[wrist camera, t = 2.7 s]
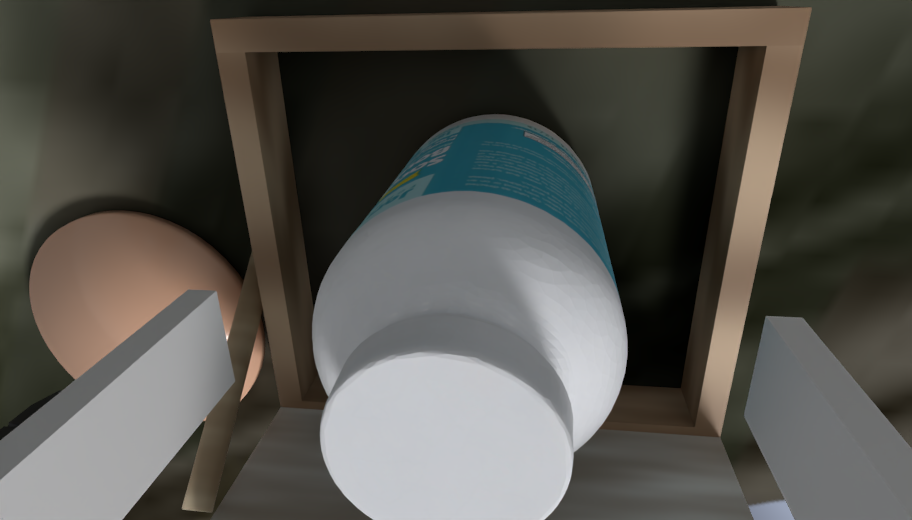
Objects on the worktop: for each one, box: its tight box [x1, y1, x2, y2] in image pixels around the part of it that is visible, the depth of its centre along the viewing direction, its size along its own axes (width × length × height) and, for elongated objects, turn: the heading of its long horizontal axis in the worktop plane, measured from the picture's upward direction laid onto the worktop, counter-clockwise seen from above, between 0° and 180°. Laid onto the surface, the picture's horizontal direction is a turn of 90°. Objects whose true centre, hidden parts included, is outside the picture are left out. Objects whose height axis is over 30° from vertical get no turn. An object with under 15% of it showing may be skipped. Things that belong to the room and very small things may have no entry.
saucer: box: [29, 210, 265, 421], centre depth 27 cm, size 11×11×1 cm
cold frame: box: [182, 6, 812, 520], centre depth 15 cm, size 16×19×17 cm
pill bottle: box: [312, 114, 628, 520], centre depth 16 cm, size 8×7×14 cm
